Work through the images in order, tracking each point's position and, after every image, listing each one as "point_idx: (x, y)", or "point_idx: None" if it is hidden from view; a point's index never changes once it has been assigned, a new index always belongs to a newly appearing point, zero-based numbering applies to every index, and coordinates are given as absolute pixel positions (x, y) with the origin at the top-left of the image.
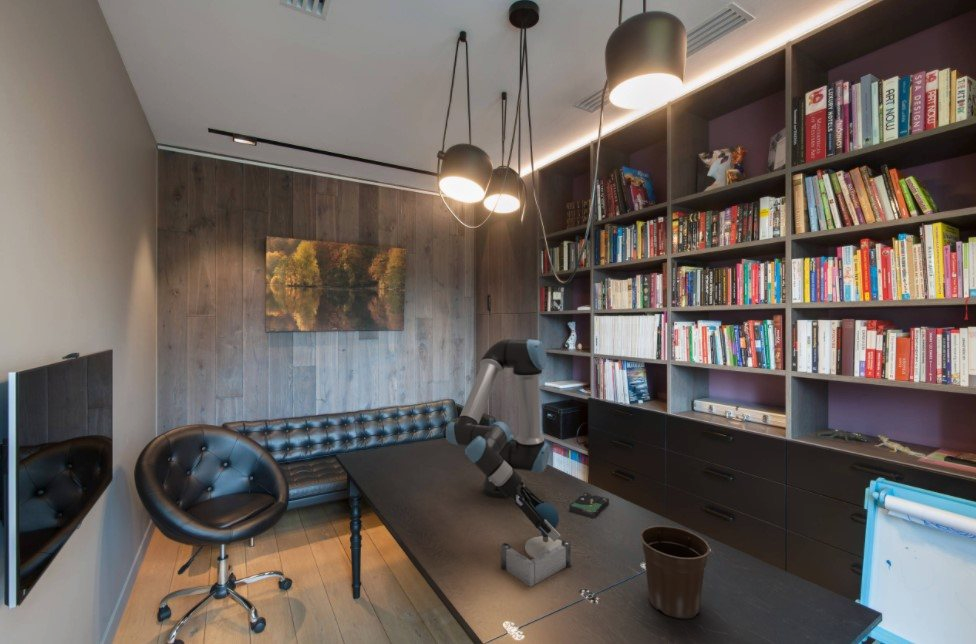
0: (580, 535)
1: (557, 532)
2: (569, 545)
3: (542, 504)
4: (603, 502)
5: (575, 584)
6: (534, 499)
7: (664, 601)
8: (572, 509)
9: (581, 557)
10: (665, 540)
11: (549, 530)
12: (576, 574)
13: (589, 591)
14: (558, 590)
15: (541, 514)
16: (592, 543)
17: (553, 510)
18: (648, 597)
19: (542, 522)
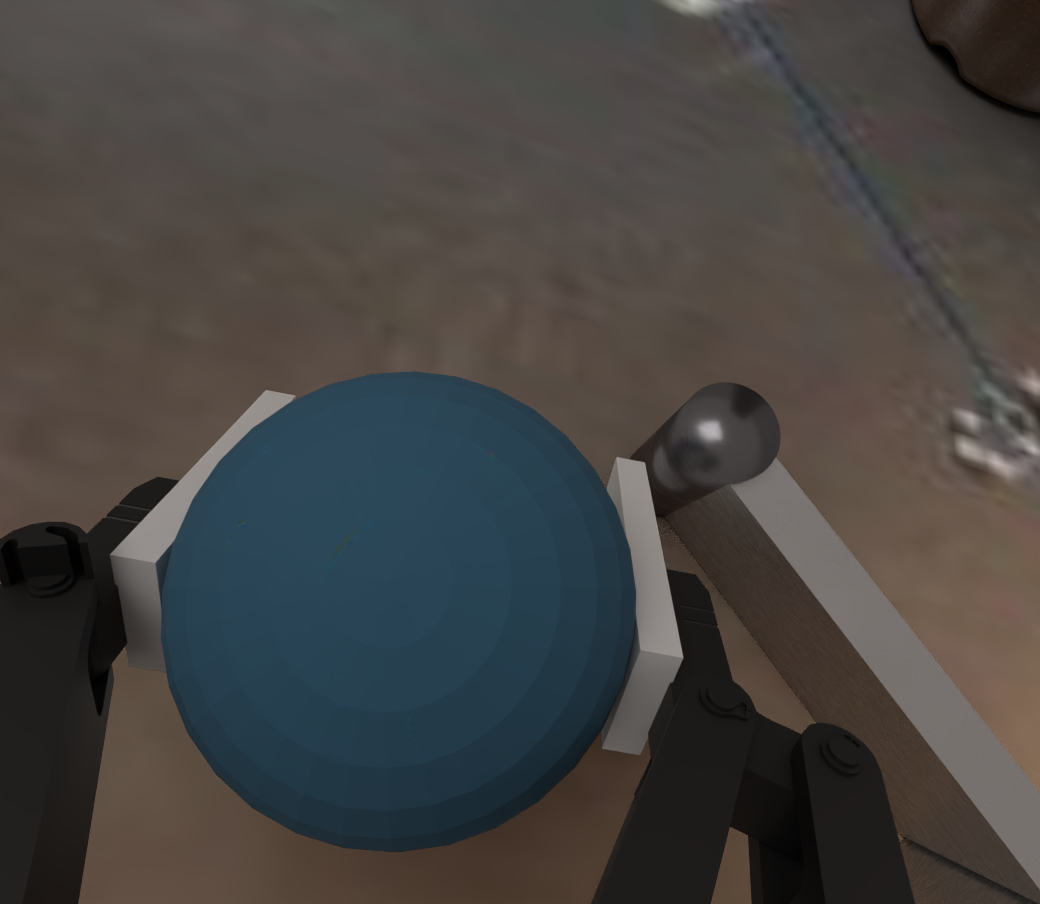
0: (238, 241)
1: (636, 486)
2: (771, 412)
3: (377, 658)
4: None
5: (908, 481)
6: (40, 835)
7: None
8: None
9: (573, 337)
10: None
11: (702, 599)
12: (791, 440)
13: (974, 411)
14: (986, 624)
15: (586, 714)
16: (381, 193)
17: (529, 449)
18: (1037, 104)
19: (869, 750)
